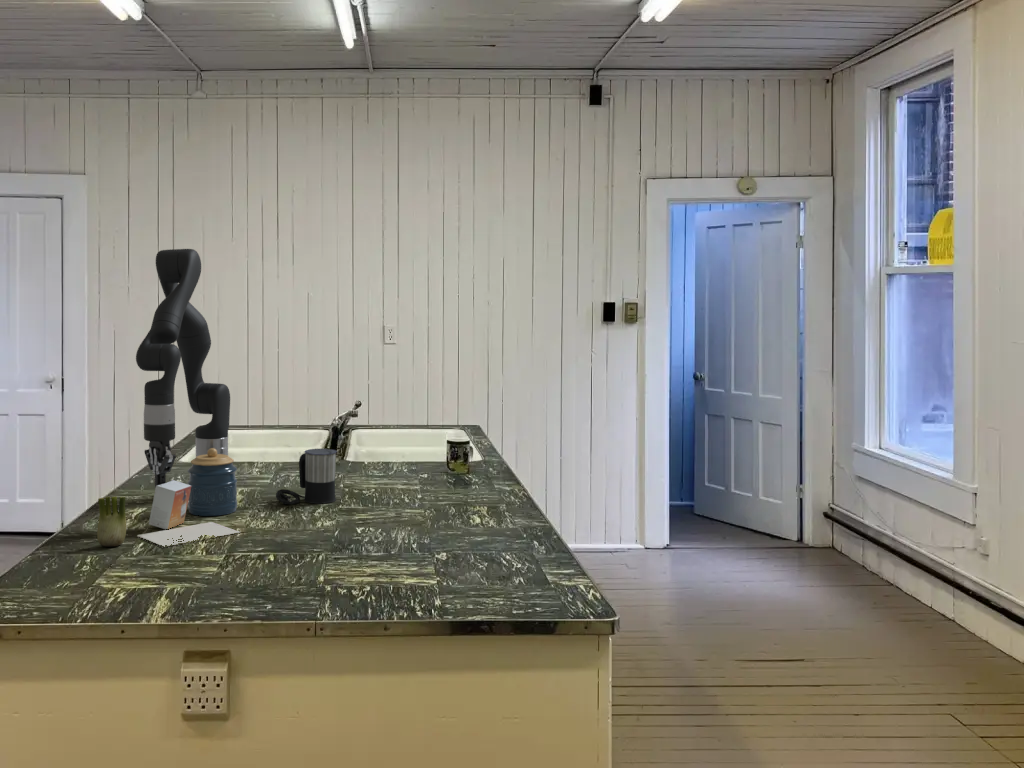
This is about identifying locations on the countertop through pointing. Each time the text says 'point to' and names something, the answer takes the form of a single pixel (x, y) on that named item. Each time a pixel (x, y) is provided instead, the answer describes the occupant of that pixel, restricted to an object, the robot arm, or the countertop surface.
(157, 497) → the small box
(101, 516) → the fennel bulb
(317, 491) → the milk frother
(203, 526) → the mat
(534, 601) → the countertop surface
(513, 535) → the countertop surface
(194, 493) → the canister
